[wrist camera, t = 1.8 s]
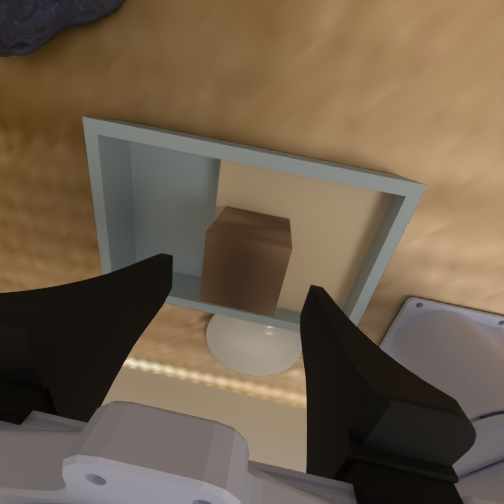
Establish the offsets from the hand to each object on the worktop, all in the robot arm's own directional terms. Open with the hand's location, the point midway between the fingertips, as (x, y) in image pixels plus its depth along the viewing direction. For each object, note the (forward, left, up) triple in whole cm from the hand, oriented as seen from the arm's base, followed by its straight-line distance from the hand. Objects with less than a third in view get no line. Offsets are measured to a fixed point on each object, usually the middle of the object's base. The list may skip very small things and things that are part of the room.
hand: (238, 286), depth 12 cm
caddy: (+1, 0, -8) cm, 8 cm away
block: (0, 0, -6) cm, 6 cm away
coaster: (-2, +12, -8) cm, 15 cm away
